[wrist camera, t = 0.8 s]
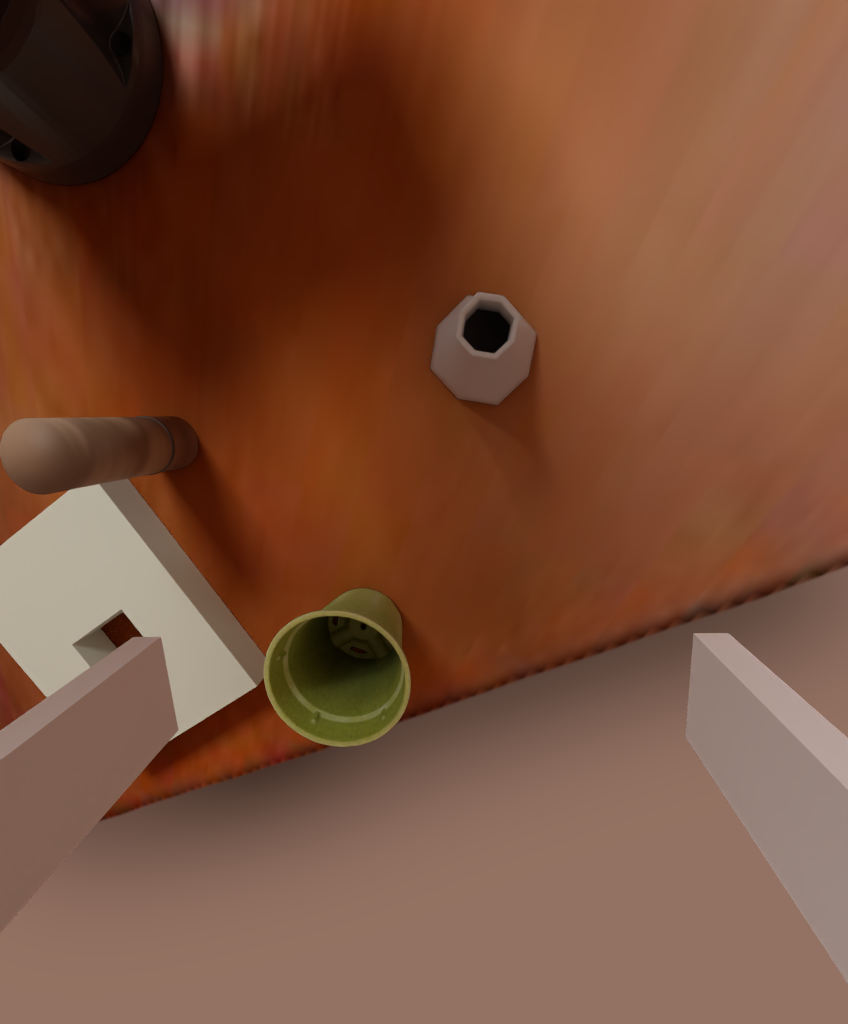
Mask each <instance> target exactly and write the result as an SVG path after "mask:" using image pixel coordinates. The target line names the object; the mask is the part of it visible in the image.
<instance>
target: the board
mask: <svg viewBox="0 0 848 1024" xmlns="http://www.w3.org/2000/svg"><path fill="white" fill-rule="evenodd" d="M122 612H124V613H125V615H126V616H127V617H128V618H129V620H130V621H131V622H132V623H133V625H134V626H135V627H136V628H137V630H138V631H139V632H140V633H141V635H142V636H143V637H161V639H162V645H163V650H164V655H165V661H166V666H167V671H168V677H169V682H170V687H171V693H172V698H173V703H174V709H175V714H176V719H177V725H178V731H177V732H176V734H175V735H174V736H173V737H172V738H171V739H170V740H172V739H173V738H175V737H177V736H178V735H180V734H181V733H183V732H185V731H186V730H188V729H189V728H191V727H193V726H194V725H196V724H197V723H199V722H201V721H202V720H204V719H205V718H207V717H209V716H210V715H212V714H213V713H215V712H217V711H218V710H220V709H221V708H223V707H225V706H226V705H228V704H229V703H231V702H233V701H234V700H236V699H237V698H239V697H241V696H242V695H244V694H245V693H247V692H249V691H250V690H252V689H253V688H255V687H257V686H258V684H259V683H260V682H261V681H262V679H263V678H264V674H263V670H264V662H265V656H264V654H263V653H262V652H261V651H260V649H259V648H258V647H257V645H256V644H255V643H254V641H253V640H252V639H251V638H250V636H249V635H248V634H247V632H246V631H245V630H244V629H243V627H242V626H241V625H240V623H239V622H238V621H237V619H236V618H235V617H234V616H233V614H232V613H231V612H230V610H229V609H228V608H227V606H226V605H225V604H224V603H223V601H222V600H221V599H220V597H219V596H218V595H217V594H216V592H215V591H214V590H213V588H212V587H211V586H210V584H209V583H208V582H207V581H206V579H205V578H204V577H203V575H202V574H201V573H200V571H199V570H198V569H197V568H196V566H195V565H194V564H193V562H192V561H191V560H190V559H189V557H188V556H187V555H186V553H185V552H184V551H183V549H182V548H181V547H180V546H179V544H178V543H177V542H176V540H175V539H174V538H173V536H172V535H171V534H170V533H169V531H168V530H167V529H166V527H165V526H164V525H163V524H162V522H161V521H160V520H159V518H158V517H157V516H156V514H155V513H154V512H153V511H152V509H151V508H150V507H149V505H148V504H147V503H146V501H145V500H144V499H143V498H142V496H141V495H140V494H139V492H138V491H137V490H136V488H135V487H134V486H133V485H132V483H131V482H130V481H129V479H123V480H118V481H113V482H108V483H102V484H97V485H92V486H87V487H82V488H76V489H71V490H69V491H68V492H66V493H65V494H64V495H63V496H61V497H60V498H59V499H58V500H57V501H55V502H54V503H53V504H52V505H50V506H49V507H48V508H47V509H45V510H44V511H43V512H42V513H40V514H39V515H38V516H37V517H35V518H34V519H33V520H32V521H31V522H29V523H28V524H27V525H26V526H24V527H23V528H22V529H21V530H19V531H18V532H17V533H16V534H14V535H13V536H12V537H11V538H10V539H8V540H7V541H6V542H5V543H3V544H2V545H1V546H0V643H1V644H2V645H3V647H4V648H5V649H6V650H7V651H8V652H9V654H10V655H11V656H12V657H13V658H14V659H15V661H16V662H17V663H18V664H19V665H20V667H21V668H22V669H23V670H24V671H25V672H26V674H27V675H28V676H29V677H30V678H31V679H32V681H33V682H34V683H35V684H36V685H37V687H38V688H39V689H40V690H41V691H42V692H43V694H44V695H45V696H46V697H49V696H50V695H52V694H53V693H55V692H56V691H57V690H59V689H60V688H62V687H63V686H64V685H66V684H67V683H69V682H70V681H72V680H73V679H74V678H76V677H77V676H79V675H80V674H82V673H83V672H84V671H86V670H87V669H89V668H90V667H91V666H93V665H94V664H96V663H97V662H99V661H100V660H101V659H103V658H104V657H106V656H107V655H108V654H110V653H111V652H113V651H114V650H116V649H117V648H116V647H115V645H114V644H113V643H112V642H111V640H110V639H109V638H108V637H107V635H106V634H105V633H104V632H103V631H102V629H101V627H103V626H104V625H105V624H107V623H108V622H110V621H111V620H112V619H114V618H115V617H117V616H118V615H119V614H121V613H122ZM170 740H169V741H170Z"/></svg>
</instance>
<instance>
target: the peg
mask: <svg viewBox="0 0 848 1024" xmlns="http://www.w3.org/2000/svg"><path fill="white" fill-rule="evenodd" d="M198 446H199V444H198V438H197V435H196V433H195V431H194V429H193V428H192V427H191V426H190V425H189V424H188V423H187V422H186V421H184V420H183V419H180V418H178V417H149V416H137V417H91V418H25V419H20V420H17V421H15V422H14V423H12V424H11V425H10V426H9V427H8V428H7V429H6V430H5V432H4V434H3V436H2V439H1V443H0V456H1V460H2V464H3V466H4V468H5V470H6V472H7V474H8V475H9V477H10V478H11V479H12V480H13V481H14V482H15V483H16V484H17V485H18V486H19V487H21V488H22V489H24V490H26V491H28V492H31V493H34V494H50V493H56V492H61V491H66V490H71V489H76V488H82V487H87V486H92V485H97V484H102V483H108V482H113V481H118V480H123V479H129V478H134V477H139V476H144V475H153V474H158V473H161V472H165V471H170V470H175V469H181V468H184V467H186V466H188V465H190V464H191V463H192V462H193V461H194V459H195V458H196V456H197V453H198Z"/></svg>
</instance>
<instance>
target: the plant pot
mask: <svg viewBox="0 0 848 1024" xmlns="http://www.w3.org/2000/svg"><path fill="white" fill-rule="evenodd" d="M334 616H338V618H337V625H335V624H334V623H333V619H334ZM362 623H365V624H366V625H367V627H366V629H362V628H361V624H362ZM352 646H353V647H355V648H358V649H361V650H364V651H367V652H366V653H357V652H355V651H353V650H352V649H351V647H352ZM263 674H264V683H265V688H266V692H267V695H268V698H269V700H270V702H271V704H272V706H273V707H274V709H275V711H276V712H277V713H278V715H279V716H280V717H281V719H282V720H283V721H284V722H285V723H286V724H287V725H288V726H290V727H291V728H292V729H293V730H294V731H296V732H297V733H299V734H300V735H302V736H304V737H306V738H308V739H310V740H312V741H314V742H317V743H321V744H325V745H330V746H338V747H347V746H356V745H362V744H365V743H368V742H371V741H373V740H376V739H377V738H379V737H381V736H383V735H384V734H385V733H387V732H388V731H389V730H390V729H391V728H392V727H393V726H394V725H395V724H396V723H397V722H398V721H399V720H400V718H401V717H402V715H403V713H404V711H405V709H406V707H407V704H408V700H409V696H410V690H411V675H410V669H409V665H408V661H407V658H406V656H405V654H404V652H403V650H402V619H401V616H400V613H399V611H398V610H397V608H396V607H395V605H394V604H393V602H392V601H391V600H390V599H389V598H388V597H387V596H385V595H384V594H382V593H380V592H378V591H375V590H372V589H366V588H359V589H353V590H350V591H347V592H345V593H343V594H342V595H340V596H339V597H337V598H336V599H335V600H333V601H332V602H331V603H330V604H328V605H327V606H326V607H325V608H323V609H322V610H318V611H313V612H310V613H307V614H304V615H301V616H299V617H297V618H295V619H294V620H292V621H291V622H289V623H288V624H287V625H286V626H284V627H283V628H282V629H281V630H280V631H279V632H278V634H277V635H276V636H275V637H274V639H273V640H272V642H271V644H270V646H269V648H268V651H267V653H266V657H265V662H264V670H263Z"/></svg>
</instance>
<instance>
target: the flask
mask: <svg viewBox="0 0 848 1024" xmlns="http://www.w3.org/2000/svg"><path fill="white" fill-rule="evenodd" d="M536 337H537V332H536V331H535V330H534V329H533V328H532V327H531V326H530V324H529V323H528V322H527V321H526V320H525V319H524V318H523V317H522V315H521V314H520V313H519V312H518V311H517V310H516V309H515V308H514V306H513V305H512V304H511V303H510V302H509V301H508V300H507V299H506V298H505V297H504V296H503V295H496V294H490V293H483V292H477V293H476V294H475V295H474V296H471V295H467V296H466V297H465V298H464V299H463V300H462V301H461V302H460V303H459V304H458V305H457V306H456V307H455V308H454V309H453V310H452V311H451V312H450V313H449V314H448V315H447V316H446V317H445V318H444V319H443V320H442V321H441V322H440V323H439V324H438V325H437V327H436V334H435V340H434V346H433V352H432V358H431V365H430V369H431V370H432V372H433V373H434V374H435V375H436V376H437V377H438V378H439V379H440V380H441V381H442V382H443V383H444V385H445V386H446V387H447V388H448V389H449V390H450V391H451V392H452V393H453V394H454V395H455V397H456V398H457V399H462V400H468V401H474V402H480V403H486V404H492V405H498V404H499V403H501V402H502V401H503V400H504V399H505V398H506V397H507V396H508V395H509V394H510V393H511V392H512V391H513V390H514V389H515V388H516V387H517V386H519V385H520V384H521V383H522V382H523V381H524V380H525V379H526V378H527V377H528V376H529V371H530V366H531V361H532V356H533V351H534V346H535V342H536Z"/></svg>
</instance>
